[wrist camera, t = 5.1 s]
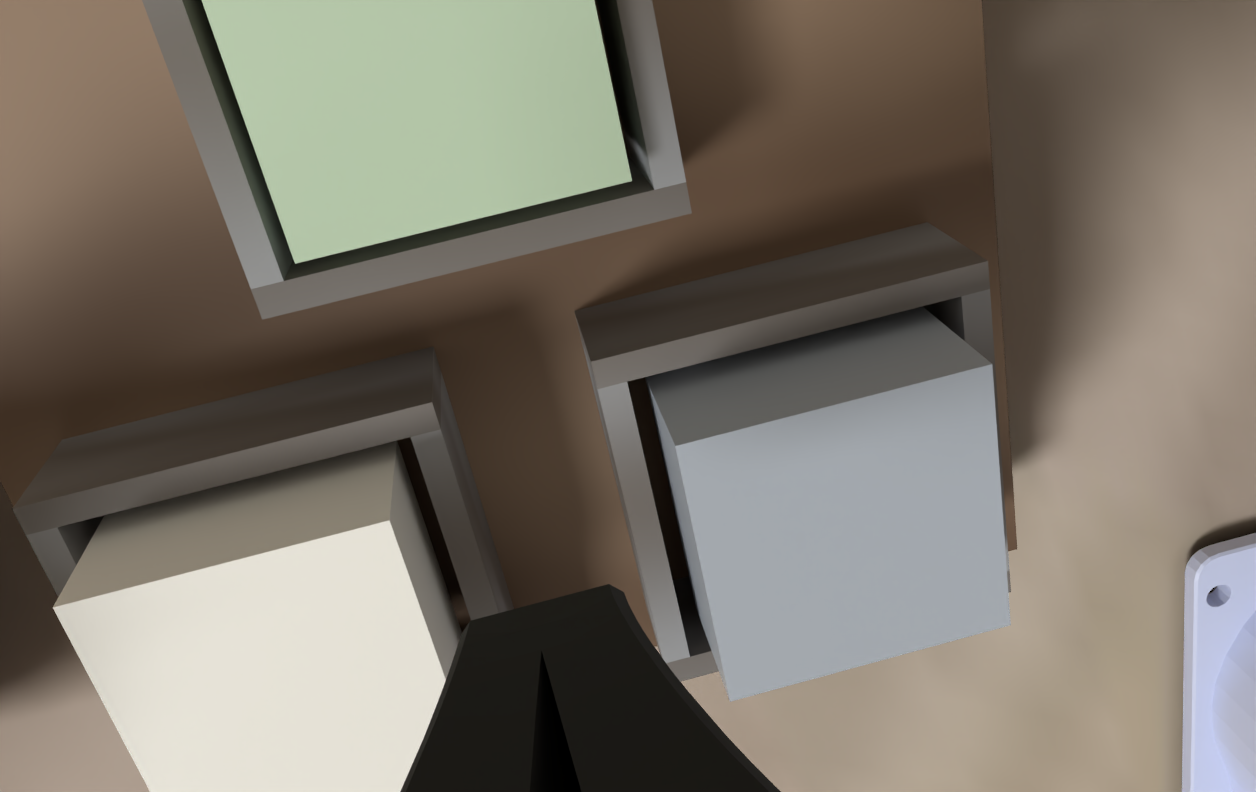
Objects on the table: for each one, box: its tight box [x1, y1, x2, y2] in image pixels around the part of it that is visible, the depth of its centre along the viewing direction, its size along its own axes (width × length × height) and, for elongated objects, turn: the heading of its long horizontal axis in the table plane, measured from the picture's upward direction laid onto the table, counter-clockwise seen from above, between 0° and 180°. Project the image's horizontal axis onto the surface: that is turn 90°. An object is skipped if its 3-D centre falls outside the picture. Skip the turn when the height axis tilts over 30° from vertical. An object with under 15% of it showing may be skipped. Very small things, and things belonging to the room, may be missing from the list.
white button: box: [53, 441, 462, 792], centre depth 15 cm, size 4×4×2 cm
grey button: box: [645, 306, 1011, 702], centre depth 15 cm, size 4×4×2 cm
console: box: [0, 0, 1017, 682], centre depth 16 cm, size 14×15×4 cm
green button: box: [202, 0, 632, 264], centre depth 13 cm, size 4×4×2 cm
